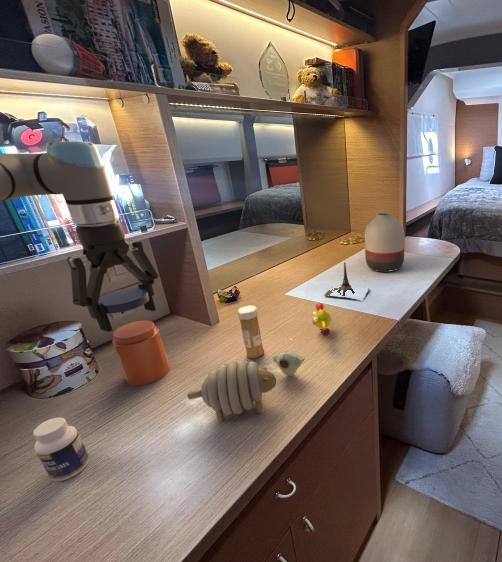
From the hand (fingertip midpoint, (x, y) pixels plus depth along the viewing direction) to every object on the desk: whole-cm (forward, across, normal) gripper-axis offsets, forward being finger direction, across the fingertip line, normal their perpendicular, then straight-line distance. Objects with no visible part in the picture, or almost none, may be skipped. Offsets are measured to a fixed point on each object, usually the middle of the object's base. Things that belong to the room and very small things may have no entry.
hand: (129, 319), depth 78 cm
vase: (+15, +89, -30) cm, 95 cm away
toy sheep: (+15, -2, -30) cm, 34 cm away
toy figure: (+15, +32, -31) cm, 47 cm away
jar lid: (-6, 0, 0) cm, 6 cm away
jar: (+15, 0, 0) cm, 15 cm away
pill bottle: (+15, -24, -12) cm, 31 cm away
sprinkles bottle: (+15, +16, -20) cm, 30 cm away
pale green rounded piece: (+15, +11, -34) cm, 39 cm away
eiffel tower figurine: (+15, +59, -26) cm, 66 cm away
